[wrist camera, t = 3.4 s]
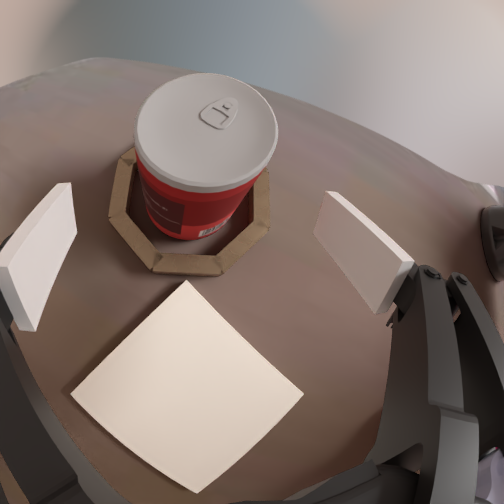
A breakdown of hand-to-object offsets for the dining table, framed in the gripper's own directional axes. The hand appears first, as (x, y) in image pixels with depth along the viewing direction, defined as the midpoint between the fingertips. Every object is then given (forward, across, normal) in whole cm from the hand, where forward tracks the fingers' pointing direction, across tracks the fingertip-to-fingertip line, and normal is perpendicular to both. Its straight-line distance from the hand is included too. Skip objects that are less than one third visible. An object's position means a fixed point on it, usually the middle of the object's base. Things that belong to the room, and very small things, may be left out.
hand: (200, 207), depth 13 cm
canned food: (+10, 0, +4) cm, 11 cm away
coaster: (-2, +1, +16) cm, 16 cm away
